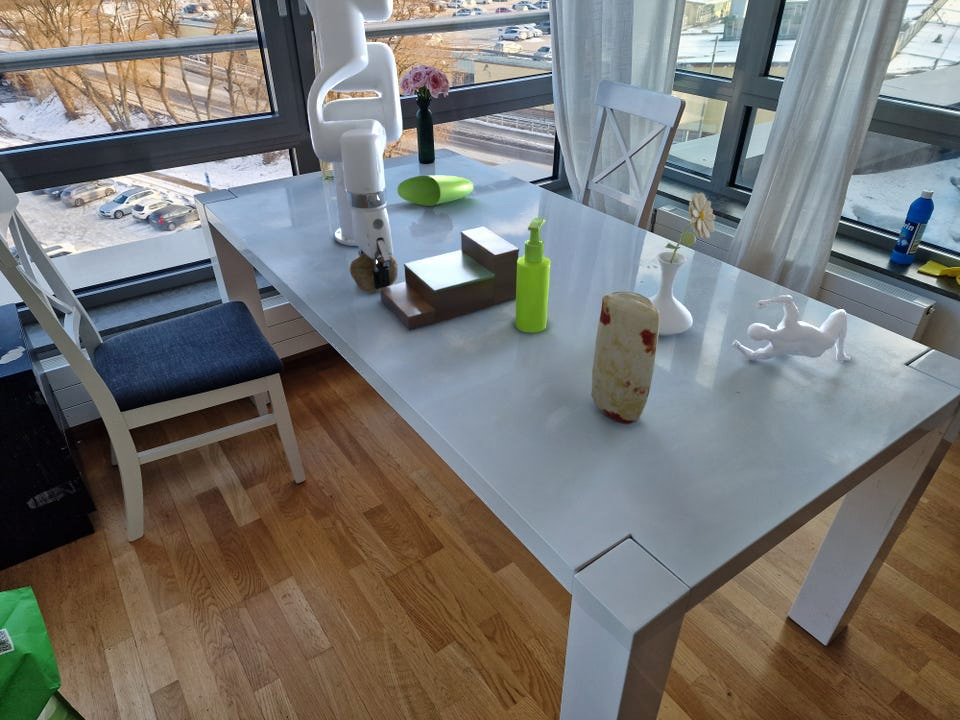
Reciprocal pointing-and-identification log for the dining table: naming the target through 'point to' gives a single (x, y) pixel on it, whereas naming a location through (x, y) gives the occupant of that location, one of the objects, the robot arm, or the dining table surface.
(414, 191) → the green rounded oblong
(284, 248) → the dining table surface
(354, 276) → the fossil
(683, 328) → the flower in vase
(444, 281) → the step shelf
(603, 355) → the food model
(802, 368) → the dining table surface
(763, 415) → the dining table surface
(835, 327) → the person figurine
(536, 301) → the soap dispenser
